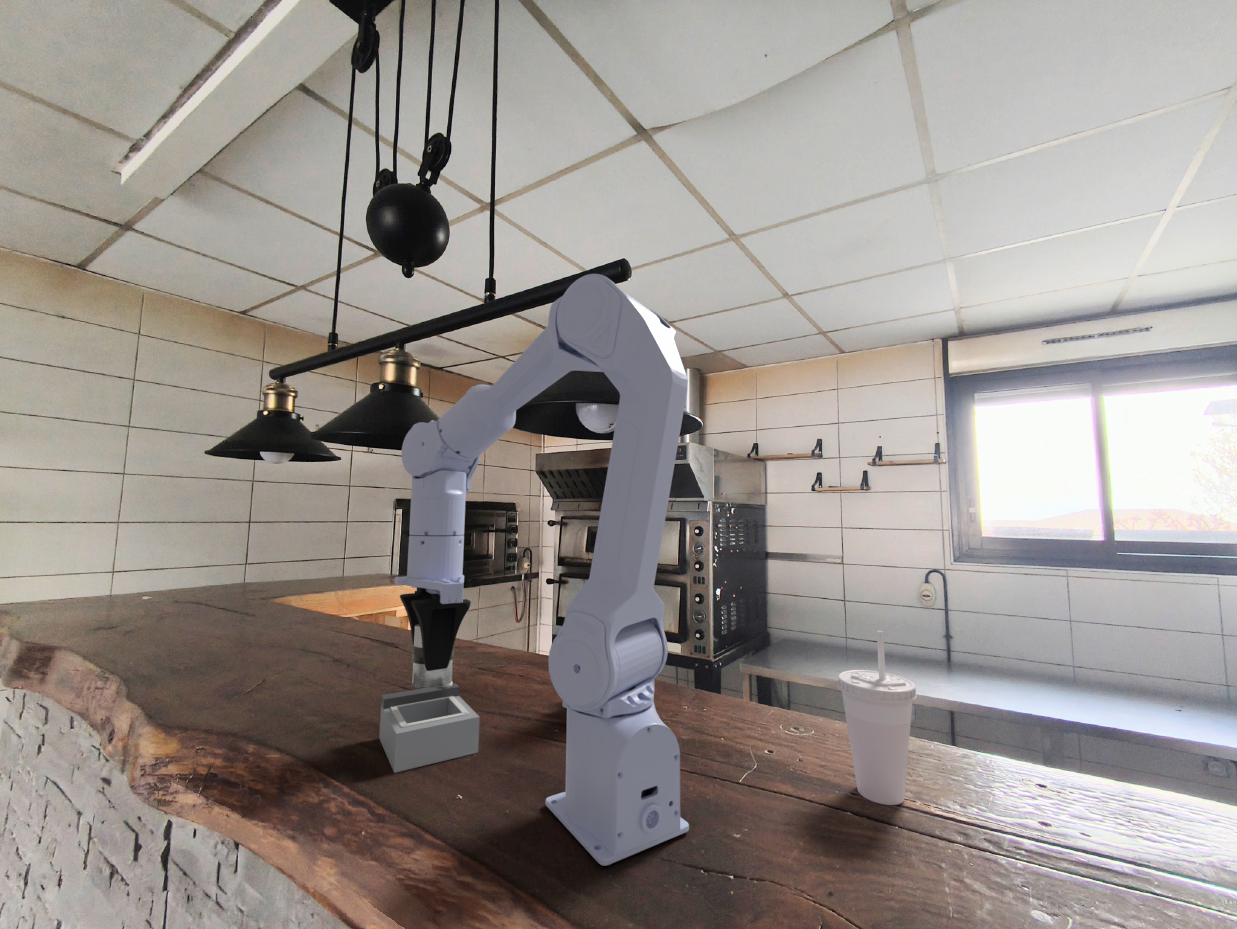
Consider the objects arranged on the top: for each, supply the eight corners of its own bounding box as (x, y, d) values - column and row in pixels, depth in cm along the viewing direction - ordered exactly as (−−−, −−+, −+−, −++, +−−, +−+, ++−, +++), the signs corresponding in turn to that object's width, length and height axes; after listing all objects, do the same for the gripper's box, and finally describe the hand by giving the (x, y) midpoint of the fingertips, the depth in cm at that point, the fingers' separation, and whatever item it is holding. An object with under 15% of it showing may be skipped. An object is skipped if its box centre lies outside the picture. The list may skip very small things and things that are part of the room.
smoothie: (921, 823, 41) (911, 642, 42) (835, 799, 44) (829, 632, 46) (923, 787, 46) (915, 628, 48) (846, 769, 50) (841, 620, 51)
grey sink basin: (478, 752, 52) (480, 701, 53) (394, 772, 48) (397, 717, 49) (453, 722, 60) (455, 678, 60) (379, 738, 56) (381, 690, 56)
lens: (456, 684, 54) (458, 624, 55) (413, 690, 52) (416, 628, 53) (449, 675, 58) (451, 618, 58) (409, 680, 56) (411, 621, 56)
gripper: (386, 533, 60) (379, 653, 59) (412, 538, 48) (404, 688, 47) (447, 533, 64) (442, 645, 63) (485, 537, 52) (480, 676, 50)
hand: (431, 663), depth 55 cm, fingers closed on lens, 4 cm apart
